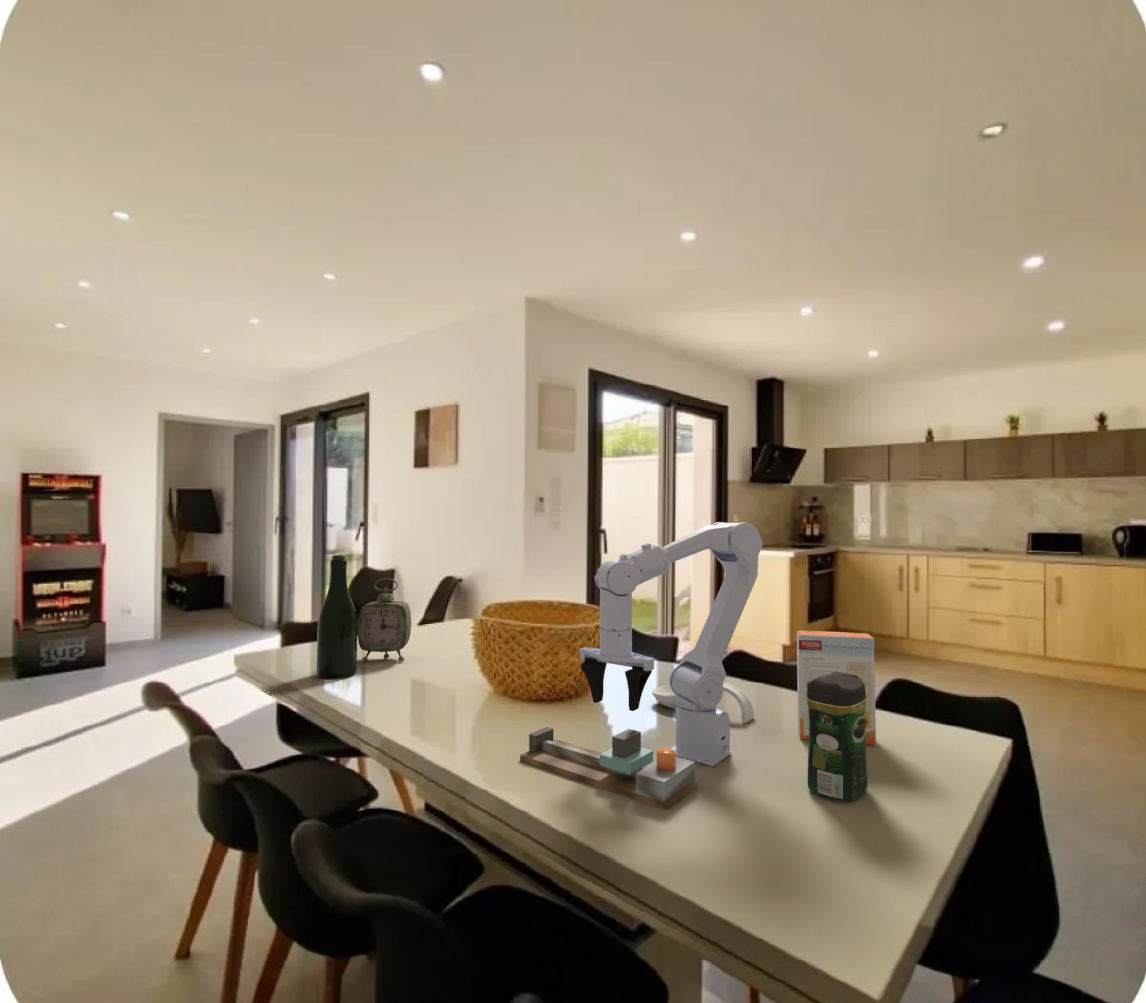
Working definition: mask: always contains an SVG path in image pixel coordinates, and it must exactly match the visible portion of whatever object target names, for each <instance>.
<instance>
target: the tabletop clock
mask: <svg viewBox="0 0 1146 1003" xmlns="http://www.w3.org/2000/svg"><path fill="white" fill-rule="evenodd" d="M380 581H391V582H393V583H395V587H394V588H392V589H391V588H390V589H388V587H387V586H385V587H384V588H383V589H381V588H379V587H377V583H379V582H380ZM398 584H399V583H398V582H397V581H396V580H395V578H394V579H393V578H390V577H382V578H379V579H377V580H376V581H375V582H374V584H373V586H374V589H375V590H376V591H378V592H382V593H380V594H379V595H378V596H377V598H376V600H375V601H371V602H368V603H366V604H365V605H363V606H361V608H360V610H359V612H358V616H357V617H358V618H357V643H358V645H359V647H360V649H361V650H363V651H365V652H367V653H366V655H365V656H363V657H362V658H361V661H362V662H363V663H367V662H368V657H369V655H370V654H371V653H372V652H374V653H384V655H383V658H384V659H385V658H388V659H389V657H390V655H389V654H390V652H396V653H397V655H398V662H400V661H402V662H404V660H405V658H404V656H402V655H401V650H402V649H404V648H405V647H406V645H408V643H409V641H410V638H411V631H412V614H411V608H410V605H409V603H408V602H405V601H403V600H395V596H394V595H393V594H392V593H390V592H393V591H395V590H396V589H397V588H398V587H399V586H398ZM366 661H367V662H366Z"/></svg>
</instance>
